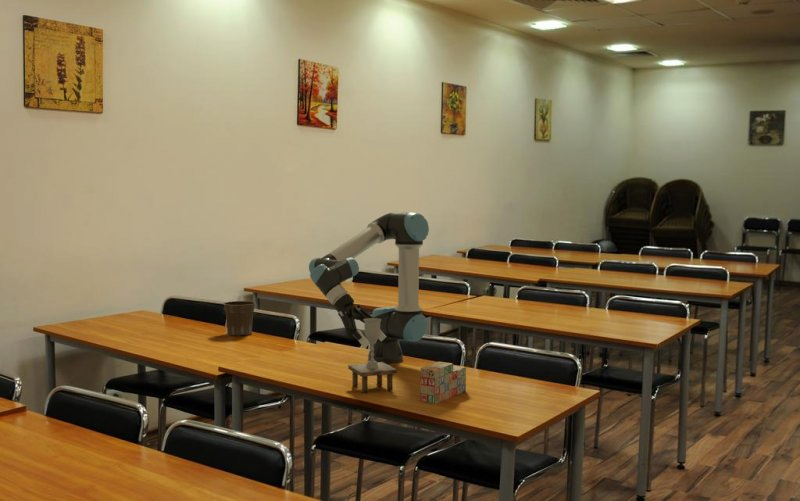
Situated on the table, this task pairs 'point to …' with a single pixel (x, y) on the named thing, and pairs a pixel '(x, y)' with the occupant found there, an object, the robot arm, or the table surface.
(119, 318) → the table surface
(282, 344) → the table surface
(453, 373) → the stack of blocks
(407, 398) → the table surface
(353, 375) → the stool
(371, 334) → the chalice
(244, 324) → the plant pot
